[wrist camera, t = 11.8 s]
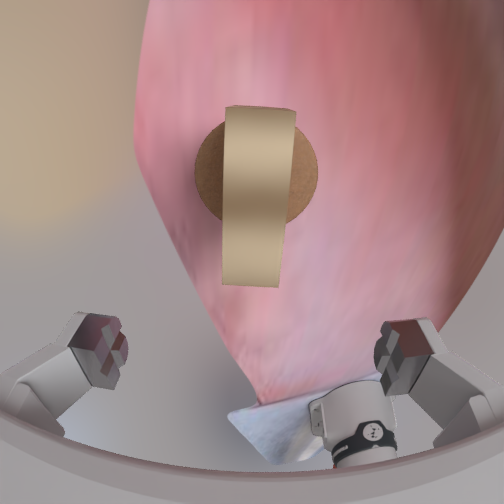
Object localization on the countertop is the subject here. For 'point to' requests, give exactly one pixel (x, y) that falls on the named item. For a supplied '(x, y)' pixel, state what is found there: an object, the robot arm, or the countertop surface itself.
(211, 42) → the countertop surface
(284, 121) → the beech block
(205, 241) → the countertop surface
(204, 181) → the lidded jar
